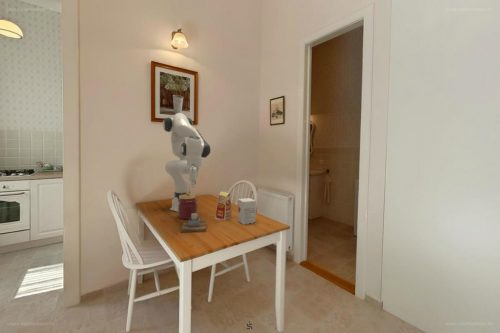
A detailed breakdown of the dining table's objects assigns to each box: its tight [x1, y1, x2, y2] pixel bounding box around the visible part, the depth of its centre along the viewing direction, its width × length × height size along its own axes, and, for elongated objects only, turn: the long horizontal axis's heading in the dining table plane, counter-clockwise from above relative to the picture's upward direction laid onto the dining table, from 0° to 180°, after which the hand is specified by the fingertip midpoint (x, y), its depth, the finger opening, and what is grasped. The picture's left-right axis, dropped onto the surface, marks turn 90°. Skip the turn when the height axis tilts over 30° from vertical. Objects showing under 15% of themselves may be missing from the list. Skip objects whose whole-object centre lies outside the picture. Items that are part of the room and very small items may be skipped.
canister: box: [177, 192, 198, 220], centre depth 152 cm, size 13×13×18 cm
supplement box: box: [237, 197, 257, 226], centre depth 144 cm, size 9×9×15 cm
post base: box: [180, 212, 207, 234], centre depth 131 cm, size 14×14×8 cm
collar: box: [187, 216, 201, 227], centre depth 131 cm, size 6×6×4 cm
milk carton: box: [214, 189, 232, 221], centre depth 151 cm, size 9×9×20 cm
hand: (193, 185), depth 133 cm, fingers open, 8 cm apart
